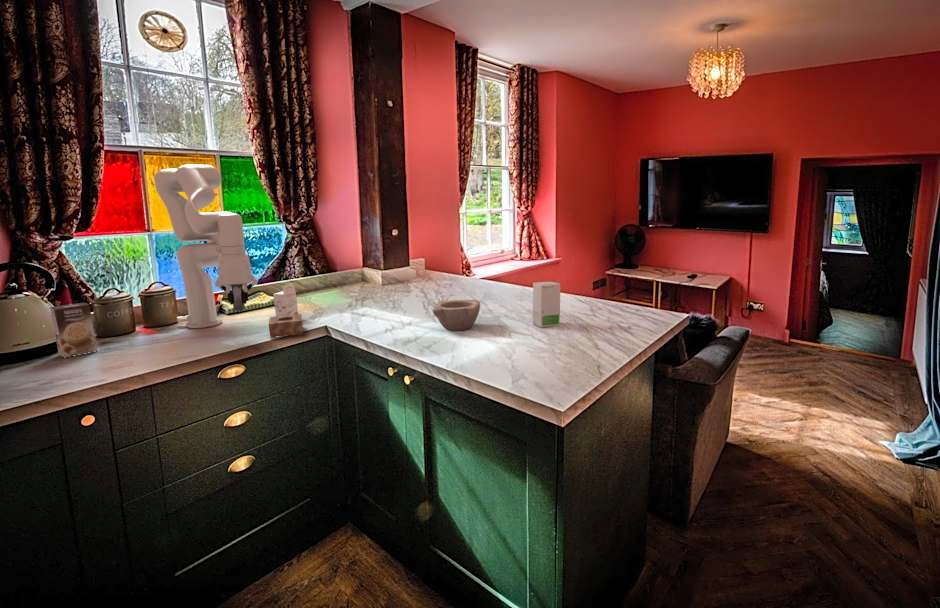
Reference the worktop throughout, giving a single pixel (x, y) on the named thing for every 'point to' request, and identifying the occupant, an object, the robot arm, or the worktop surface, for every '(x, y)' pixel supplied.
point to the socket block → (285, 325)
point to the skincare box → (546, 304)
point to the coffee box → (73, 329)
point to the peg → (237, 297)
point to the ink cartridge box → (286, 301)
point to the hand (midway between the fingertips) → (238, 302)
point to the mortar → (457, 313)
